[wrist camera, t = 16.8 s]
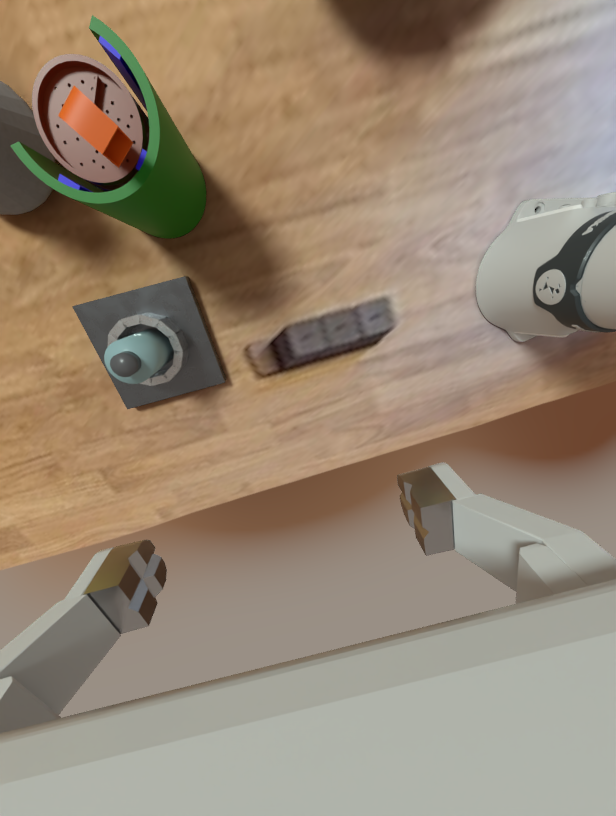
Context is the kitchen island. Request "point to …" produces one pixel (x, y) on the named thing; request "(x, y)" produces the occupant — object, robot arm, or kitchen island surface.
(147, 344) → the capped teal cylinder
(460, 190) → the kitchen island surface
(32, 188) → the coffee pot
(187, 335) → the motor mount
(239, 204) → the kitchen island surface
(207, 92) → the kitchen island surface
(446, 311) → the kitchen island surface
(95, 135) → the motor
